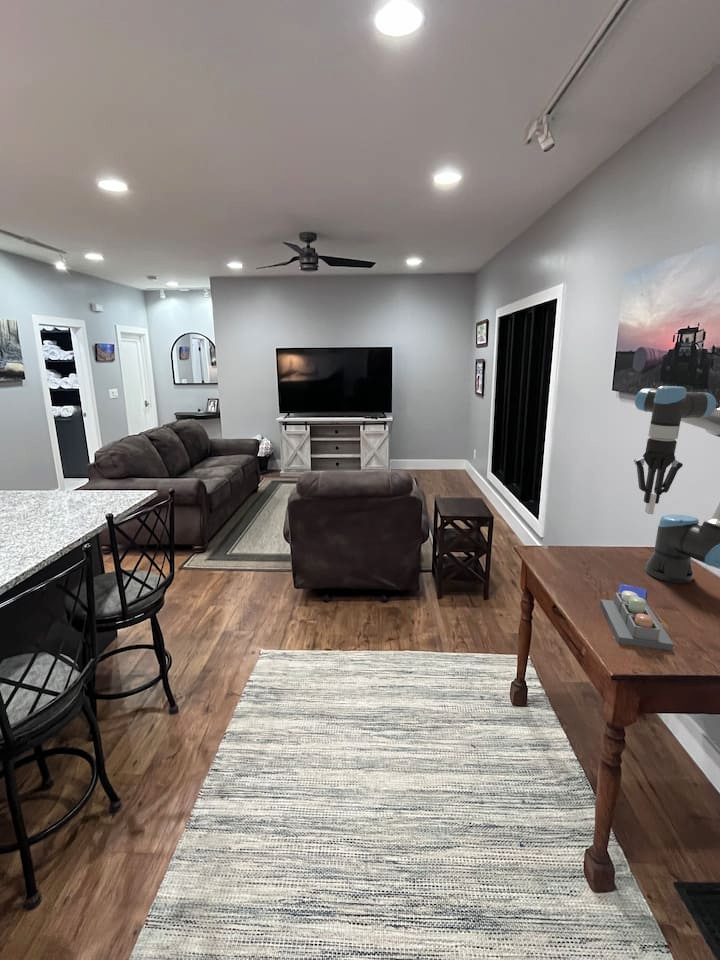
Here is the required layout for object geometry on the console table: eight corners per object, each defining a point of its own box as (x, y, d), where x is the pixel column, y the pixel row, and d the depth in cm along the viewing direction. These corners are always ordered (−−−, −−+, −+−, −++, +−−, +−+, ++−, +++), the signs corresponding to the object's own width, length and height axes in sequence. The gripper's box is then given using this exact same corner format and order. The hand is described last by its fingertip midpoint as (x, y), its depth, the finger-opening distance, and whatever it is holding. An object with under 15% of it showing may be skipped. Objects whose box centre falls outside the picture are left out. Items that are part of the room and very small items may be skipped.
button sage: (641, 609, 147) (643, 597, 146) (646, 616, 142) (648, 604, 141) (625, 607, 148) (627, 595, 146) (630, 614, 143) (632, 602, 142)
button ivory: (633, 602, 154) (635, 591, 153) (637, 609, 150) (639, 598, 148) (618, 601, 155) (620, 590, 154) (622, 608, 150) (624, 596, 149)
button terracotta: (648, 626, 141) (650, 614, 139) (653, 635, 136) (655, 622, 135) (631, 624, 141) (633, 612, 140) (636, 632, 137) (638, 620, 136)
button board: (646, 610, 155) (649, 595, 154) (672, 650, 134) (676, 633, 133) (599, 604, 158) (602, 589, 157) (618, 643, 138) (621, 626, 136)
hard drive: (620, 583, 171) (616, 597, 161) (646, 589, 167) (644, 604, 156) (619, 587, 171) (616, 602, 161) (646, 593, 167) (644, 609, 157)
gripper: (681, 437, 145) (667, 510, 152) (634, 435, 148) (622, 507, 154) (692, 442, 138) (676, 518, 145) (642, 439, 141) (629, 514, 147)
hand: (649, 512), depth 149 cm, fingers closed
